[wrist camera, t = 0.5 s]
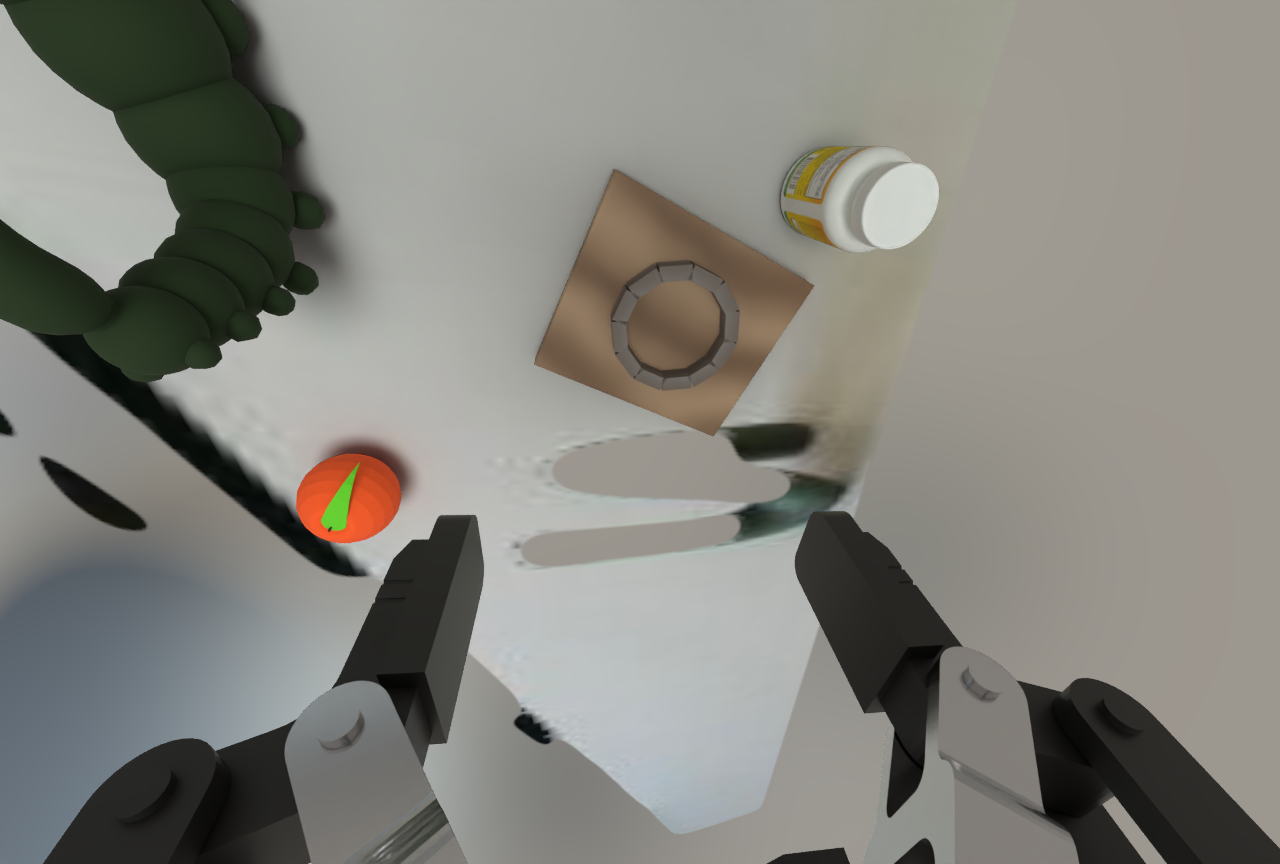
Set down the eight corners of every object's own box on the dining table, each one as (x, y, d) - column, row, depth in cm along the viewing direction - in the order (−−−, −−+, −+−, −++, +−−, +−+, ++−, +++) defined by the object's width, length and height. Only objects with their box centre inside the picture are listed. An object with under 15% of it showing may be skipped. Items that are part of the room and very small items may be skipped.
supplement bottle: (777, 157, 29) (852, 157, 21) (857, 138, 29) (963, 132, 21) (779, 243, 32) (846, 272, 24) (852, 226, 32) (943, 250, 24)
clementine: (334, 413, 35) (284, 467, 29) (426, 445, 38) (396, 500, 32) (316, 487, 39) (267, 549, 33) (401, 512, 41) (370, 574, 35)
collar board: (614, 169, 29) (617, 170, 26) (805, 280, 34) (823, 290, 31) (535, 356, 35) (532, 372, 32) (709, 427, 40) (718, 446, 37)
